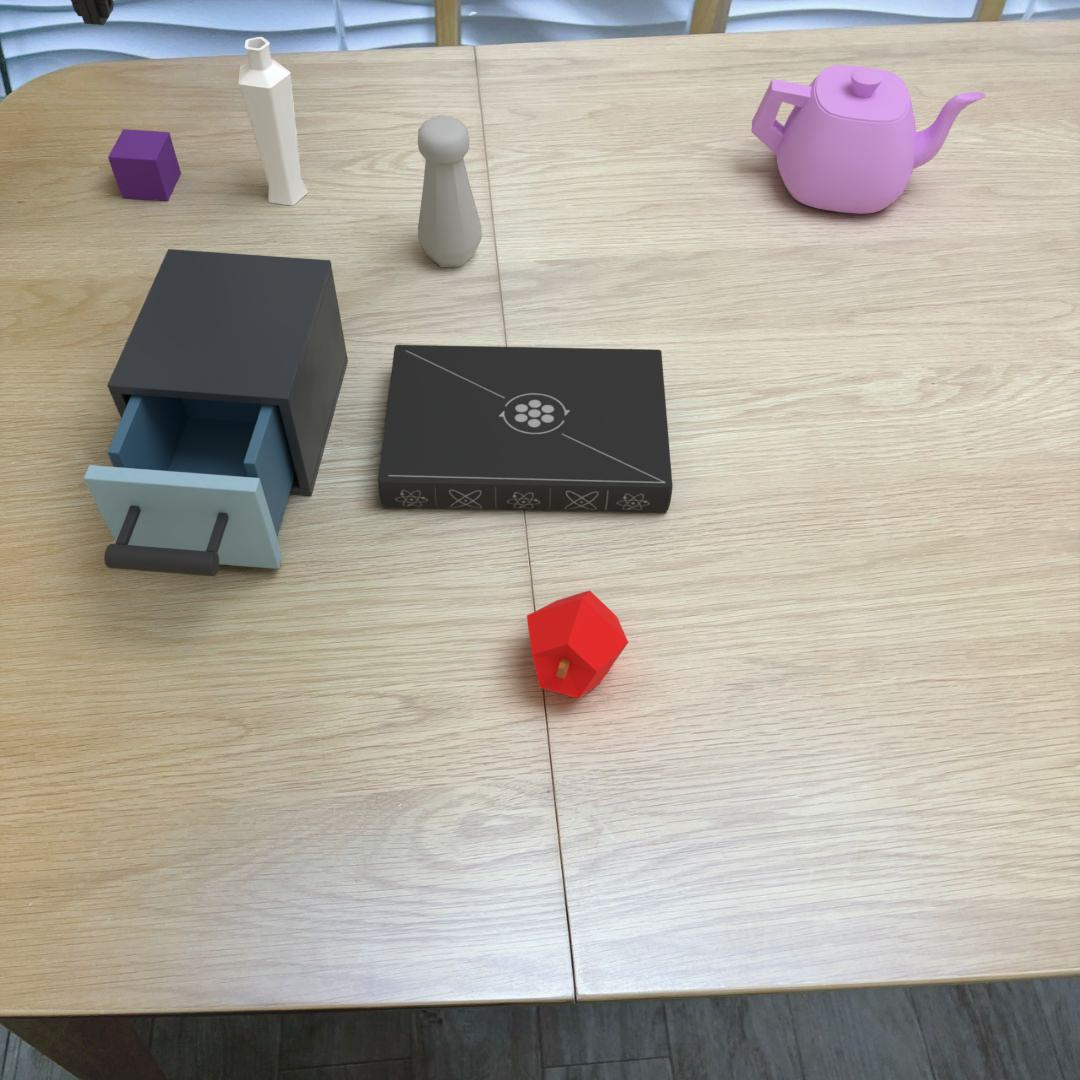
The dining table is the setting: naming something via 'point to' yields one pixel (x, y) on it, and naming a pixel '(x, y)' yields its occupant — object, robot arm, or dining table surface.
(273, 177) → the white tall faceted bottle
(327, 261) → the dark grey cabinet
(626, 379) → the book
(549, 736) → the dining table surface
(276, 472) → the drawer
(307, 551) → the dining table surface
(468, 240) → the salt shaker
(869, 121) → the teapot
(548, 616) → the apple
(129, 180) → the block
